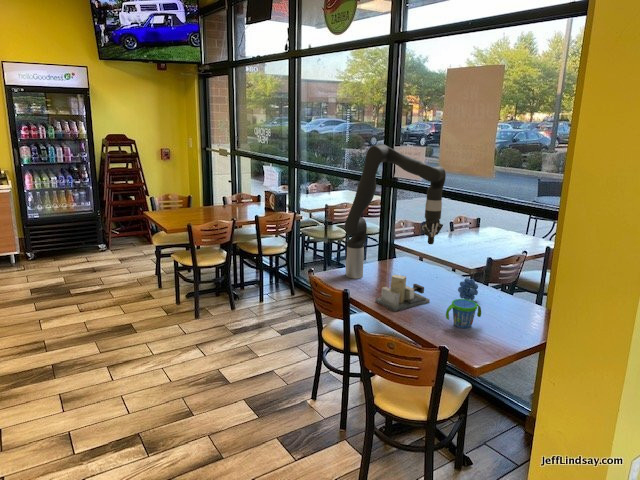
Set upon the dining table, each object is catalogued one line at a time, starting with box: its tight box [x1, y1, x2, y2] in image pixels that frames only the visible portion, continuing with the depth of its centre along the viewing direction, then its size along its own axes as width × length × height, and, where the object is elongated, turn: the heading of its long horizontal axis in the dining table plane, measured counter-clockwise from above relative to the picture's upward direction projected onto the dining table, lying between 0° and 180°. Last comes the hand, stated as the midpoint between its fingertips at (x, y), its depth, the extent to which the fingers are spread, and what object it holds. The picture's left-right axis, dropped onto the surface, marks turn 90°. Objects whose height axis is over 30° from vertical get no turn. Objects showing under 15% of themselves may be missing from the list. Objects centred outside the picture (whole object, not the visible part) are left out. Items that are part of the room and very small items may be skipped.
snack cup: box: [445, 298, 482, 329], centre depth 206 cm, size 16×10×10 cm
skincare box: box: [390, 273, 407, 303], centre depth 228 cm, size 6×4×12 cm
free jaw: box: [404, 283, 425, 302], centre depth 234 cm, size 10×11×6 cm
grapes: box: [457, 277, 479, 301], centre depth 232 cm, size 12×7×12 cm, turn 111°
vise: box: [375, 286, 431, 312], centre depth 231 cm, size 14×22×8 cm, turn 122°
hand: (430, 243), depth 233 cm, fingers closed
